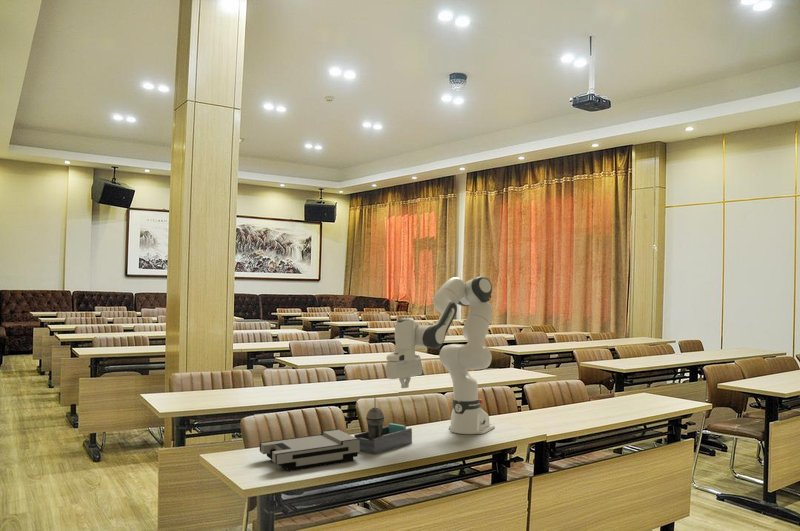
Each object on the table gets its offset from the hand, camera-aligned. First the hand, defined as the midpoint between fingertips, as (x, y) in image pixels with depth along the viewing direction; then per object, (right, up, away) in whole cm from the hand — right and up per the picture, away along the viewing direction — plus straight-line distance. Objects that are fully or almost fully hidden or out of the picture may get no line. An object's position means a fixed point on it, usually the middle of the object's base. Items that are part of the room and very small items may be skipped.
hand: (404, 387), depth 257 cm
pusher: (-3, -21, -5) cm, 21 cm away
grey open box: (-9, -22, -11) cm, 26 cm away
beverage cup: (-12, -21, -16) cm, 29 cm away
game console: (-36, -22, -31) cm, 53 cm away
